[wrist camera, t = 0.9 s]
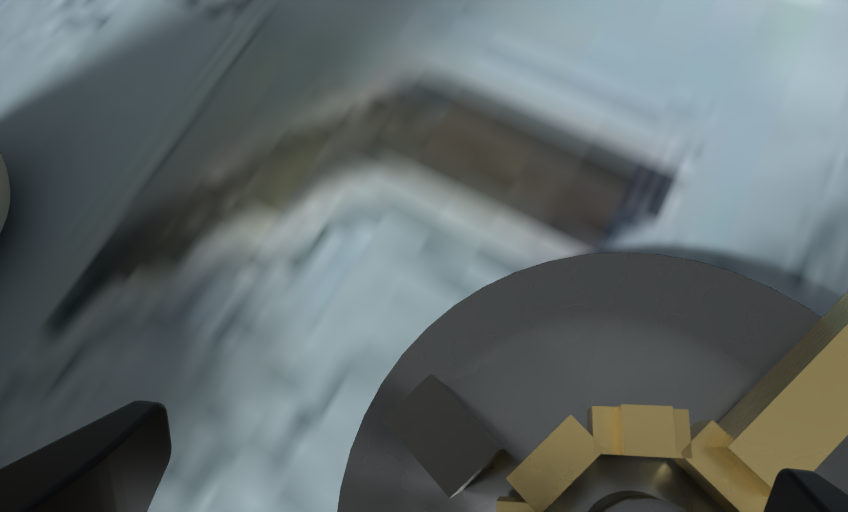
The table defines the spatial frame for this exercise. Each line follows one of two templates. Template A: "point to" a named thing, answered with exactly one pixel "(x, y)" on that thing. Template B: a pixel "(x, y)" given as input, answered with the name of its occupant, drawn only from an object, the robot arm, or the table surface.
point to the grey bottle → (4, 193)
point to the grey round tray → (569, 383)
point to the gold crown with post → (713, 431)
